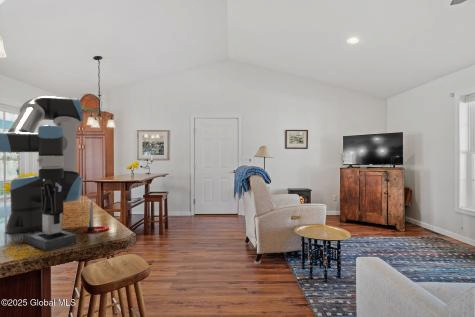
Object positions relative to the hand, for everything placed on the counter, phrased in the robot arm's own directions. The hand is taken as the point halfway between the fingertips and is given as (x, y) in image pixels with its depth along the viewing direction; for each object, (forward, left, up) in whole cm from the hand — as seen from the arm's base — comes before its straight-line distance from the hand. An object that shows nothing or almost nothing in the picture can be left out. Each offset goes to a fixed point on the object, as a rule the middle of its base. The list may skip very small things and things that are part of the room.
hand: (52, 231), depth 98 cm
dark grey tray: (-2, 0, -4) cm, 5 cm away
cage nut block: (0, 0, 0) cm, 0 cm away
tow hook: (-3, +18, -5) cm, 19 cm away
